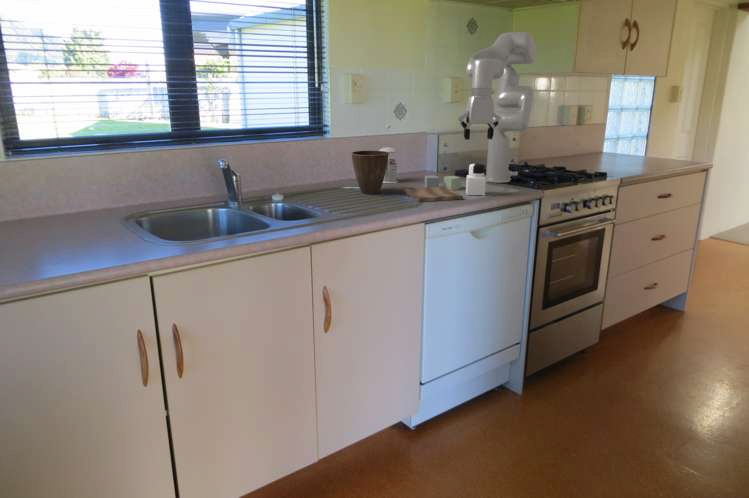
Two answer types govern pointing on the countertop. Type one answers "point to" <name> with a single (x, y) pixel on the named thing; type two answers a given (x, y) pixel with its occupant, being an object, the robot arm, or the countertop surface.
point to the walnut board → (433, 194)
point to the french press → (390, 166)
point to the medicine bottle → (476, 180)
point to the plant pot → (370, 169)
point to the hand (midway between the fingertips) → (478, 139)
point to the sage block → (452, 182)
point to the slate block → (431, 181)
